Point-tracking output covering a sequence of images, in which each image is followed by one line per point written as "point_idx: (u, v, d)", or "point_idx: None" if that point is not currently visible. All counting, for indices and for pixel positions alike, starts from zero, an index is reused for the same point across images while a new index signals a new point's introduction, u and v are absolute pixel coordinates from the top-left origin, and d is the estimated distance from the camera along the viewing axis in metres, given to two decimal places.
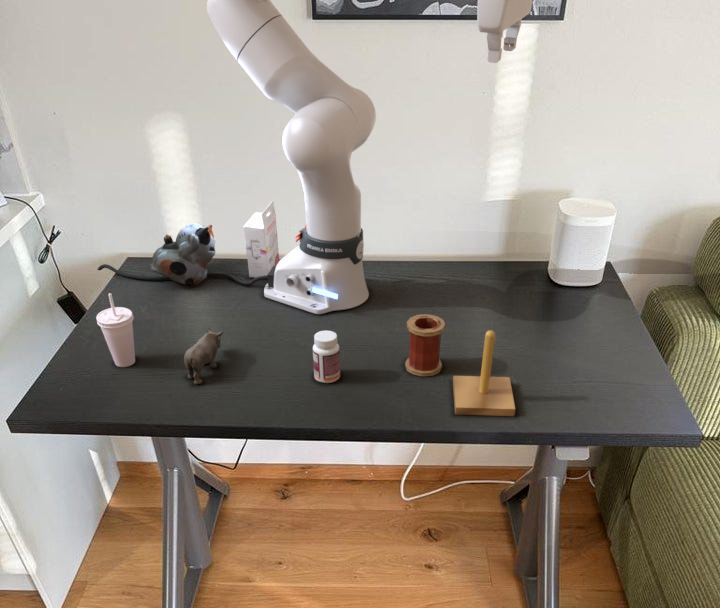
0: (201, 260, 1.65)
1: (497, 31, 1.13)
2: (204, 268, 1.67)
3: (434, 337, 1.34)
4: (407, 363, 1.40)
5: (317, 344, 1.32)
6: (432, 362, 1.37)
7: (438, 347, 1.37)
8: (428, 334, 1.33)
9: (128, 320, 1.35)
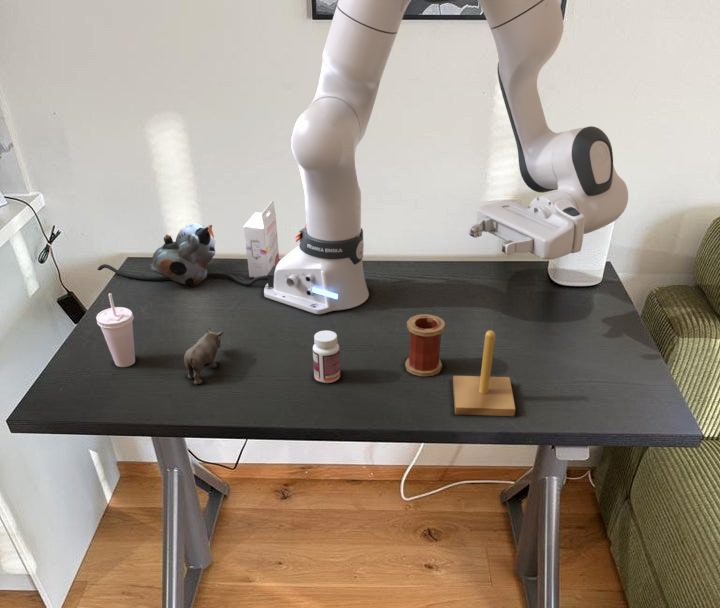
0: (201, 260, 1.65)
1: (545, 257, 1.28)
2: (204, 268, 1.67)
3: (434, 337, 1.34)
4: (407, 363, 1.40)
5: (317, 344, 1.32)
6: (432, 362, 1.37)
7: (438, 347, 1.37)
8: (428, 334, 1.33)
9: (128, 320, 1.35)
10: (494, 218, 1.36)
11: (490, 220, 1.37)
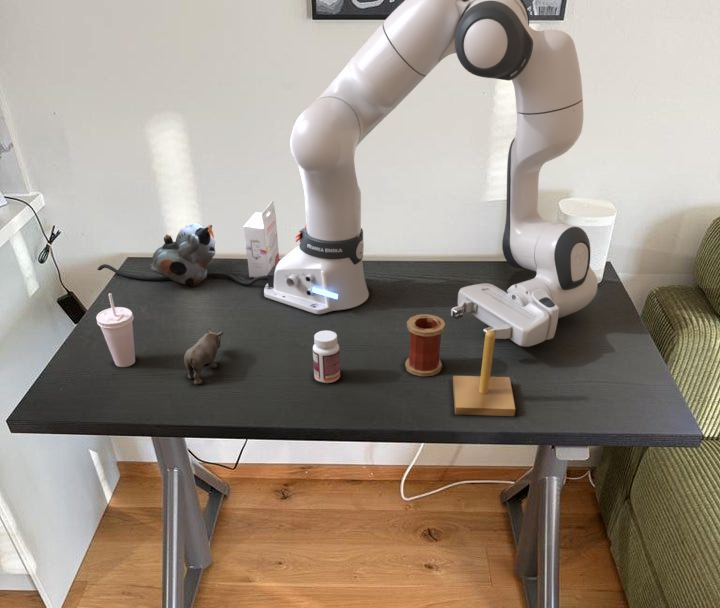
0: (201, 260, 1.65)
1: (522, 344, 1.38)
2: (204, 268, 1.67)
3: (434, 337, 1.34)
4: (407, 363, 1.40)
5: (317, 344, 1.32)
6: (432, 362, 1.37)
7: (438, 347, 1.37)
8: (428, 334, 1.33)
9: (128, 320, 1.35)
10: (475, 301, 1.45)
11: (471, 302, 1.46)
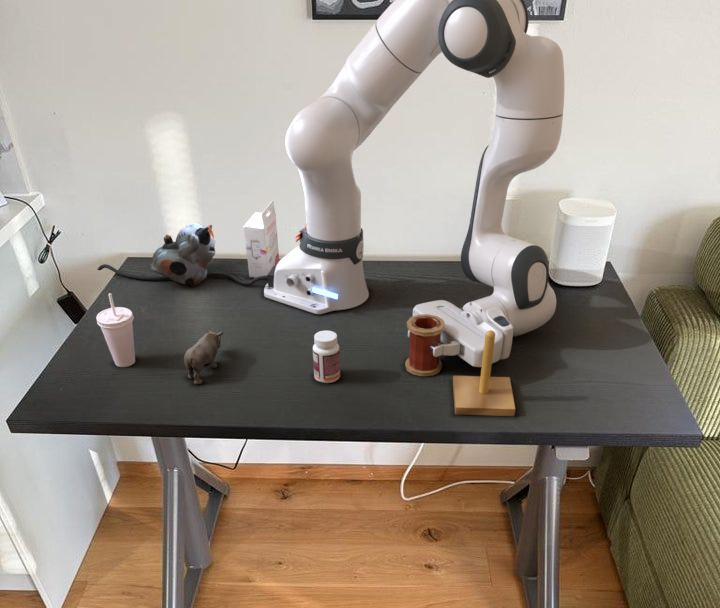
0: (201, 260, 1.65)
1: (475, 365, 1.34)
2: (204, 268, 1.67)
3: (434, 337, 1.34)
4: (407, 363, 1.40)
5: (317, 344, 1.32)
6: (432, 362, 1.37)
7: None
8: (428, 334, 1.33)
9: (128, 320, 1.35)
10: None
11: None
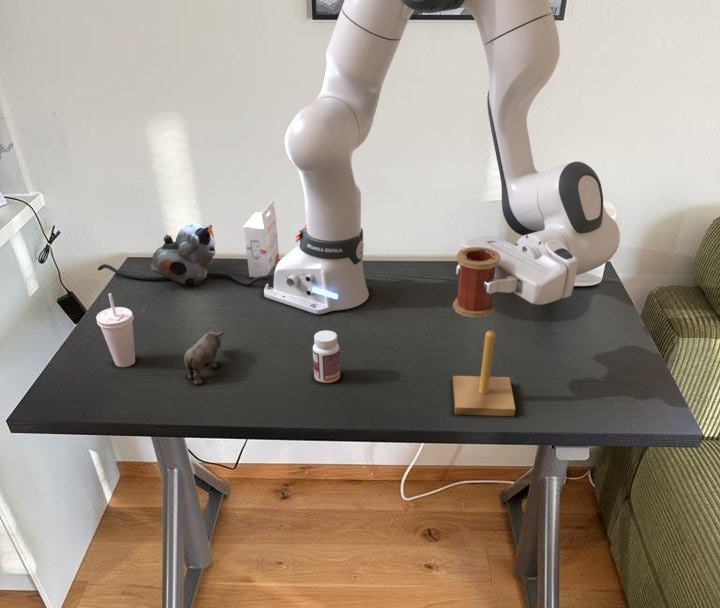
0: (201, 260, 1.65)
1: (535, 302, 1.18)
2: (204, 268, 1.67)
3: (488, 271, 1.18)
4: (455, 303, 1.24)
5: (317, 344, 1.32)
6: (485, 301, 1.22)
7: None
8: (482, 267, 1.17)
9: (128, 320, 1.35)
10: None
11: None
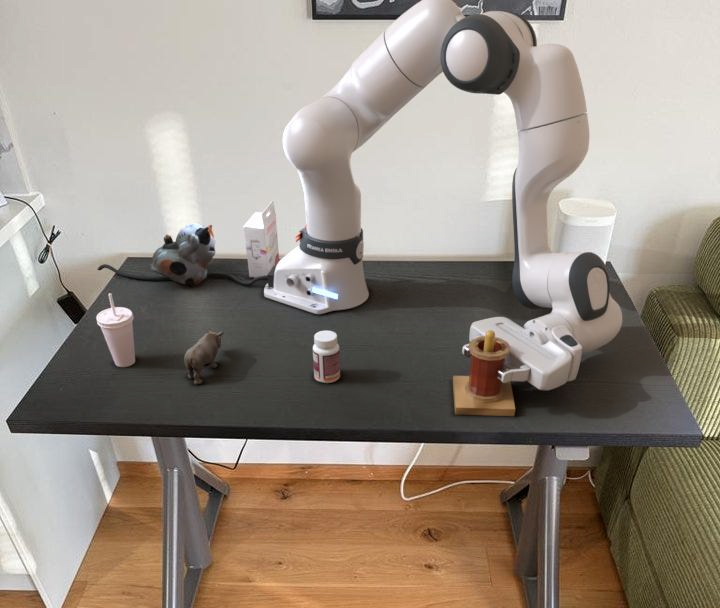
0: (201, 260, 1.65)
1: (542, 388, 1.24)
2: (204, 268, 1.67)
3: (499, 361, 1.25)
4: (467, 388, 1.31)
5: (317, 344, 1.32)
6: (495, 387, 1.28)
7: None
8: (493, 358, 1.24)
9: (128, 320, 1.35)
10: None
11: None
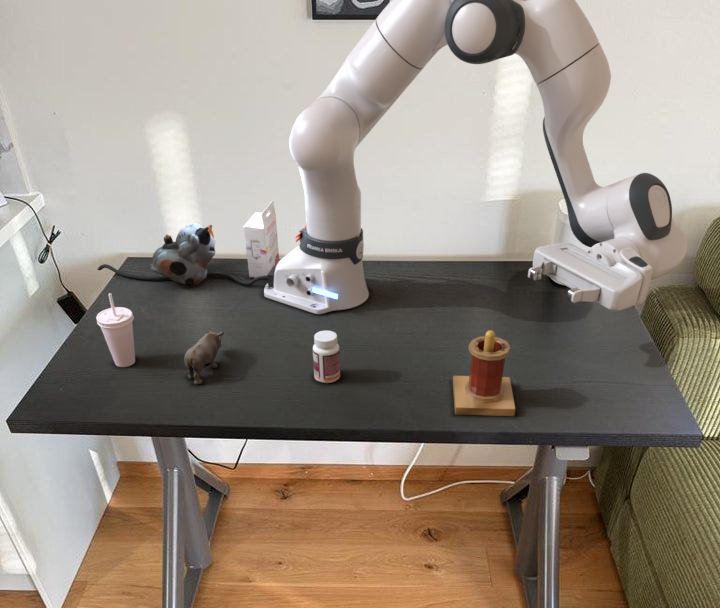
0: (201, 260, 1.65)
1: (612, 308, 1.23)
2: (204, 268, 1.67)
3: (499, 361, 1.25)
4: (467, 388, 1.31)
5: (317, 344, 1.32)
6: (495, 387, 1.28)
7: (502, 371, 1.28)
8: (493, 358, 1.24)
9: (128, 320, 1.35)
10: (555, 261, 1.30)
11: (550, 263, 1.31)
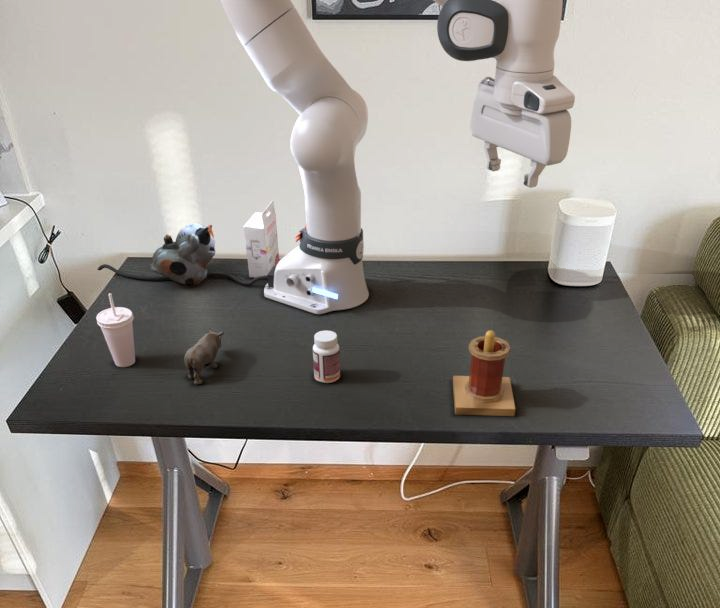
0: (201, 260, 1.65)
1: (561, 161, 1.19)
2: (204, 268, 1.67)
3: (499, 361, 1.25)
4: (467, 388, 1.31)
5: (317, 344, 1.32)
6: (495, 387, 1.28)
7: (502, 371, 1.28)
8: (493, 358, 1.24)
9: (128, 320, 1.35)
10: (491, 143, 1.27)
11: None
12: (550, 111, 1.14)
